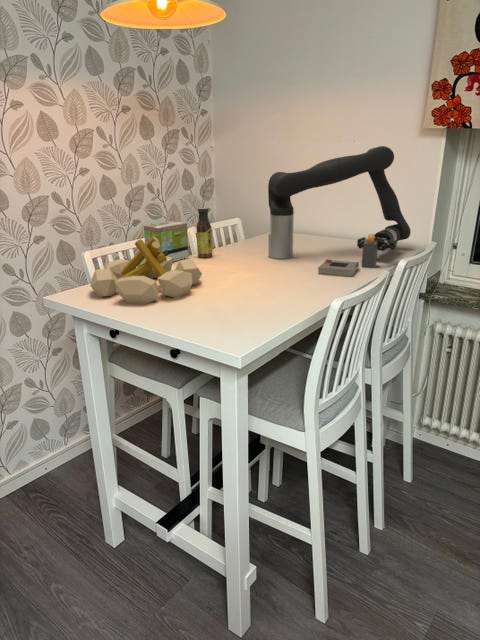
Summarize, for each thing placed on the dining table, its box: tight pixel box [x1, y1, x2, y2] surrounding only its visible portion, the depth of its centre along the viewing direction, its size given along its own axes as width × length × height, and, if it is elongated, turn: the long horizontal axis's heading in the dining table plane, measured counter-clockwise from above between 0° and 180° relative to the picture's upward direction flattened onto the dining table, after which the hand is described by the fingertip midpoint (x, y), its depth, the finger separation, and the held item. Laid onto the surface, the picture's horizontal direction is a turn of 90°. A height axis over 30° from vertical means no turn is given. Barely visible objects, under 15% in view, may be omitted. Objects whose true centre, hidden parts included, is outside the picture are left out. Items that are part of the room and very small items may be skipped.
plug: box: [361, 233, 378, 269], centre depth 182 cm, size 5×5×12 cm
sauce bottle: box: [195, 207, 213, 259], centre depth 200 cm, size 6×6×20 cm
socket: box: [317, 258, 360, 278], centre depth 177 cm, size 12×12×3 cm
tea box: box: [143, 220, 189, 263], centre depth 197 cm, size 15×10×15 cm, turn 143°
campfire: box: [89, 236, 203, 305], centre depth 161 cm, size 35×34×17 cm
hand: (370, 246), depth 182 cm, fingers open, 8 cm apart
